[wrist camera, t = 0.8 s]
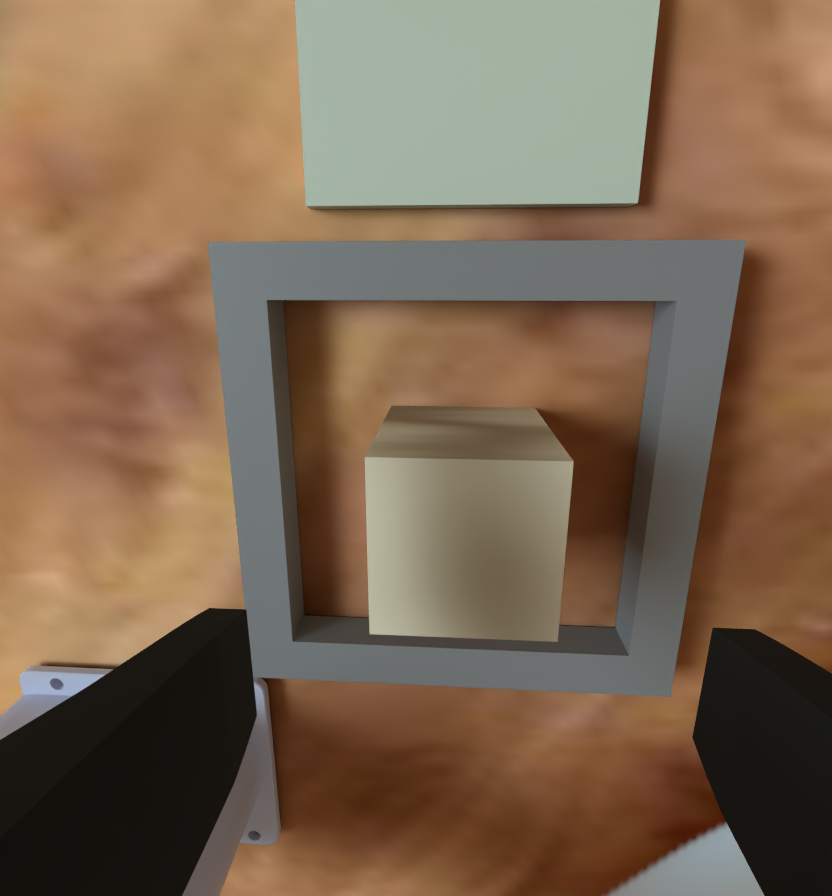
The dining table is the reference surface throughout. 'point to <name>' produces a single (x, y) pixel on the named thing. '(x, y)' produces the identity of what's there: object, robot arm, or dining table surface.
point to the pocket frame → (478, 279)
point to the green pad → (474, 102)
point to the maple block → (466, 523)
